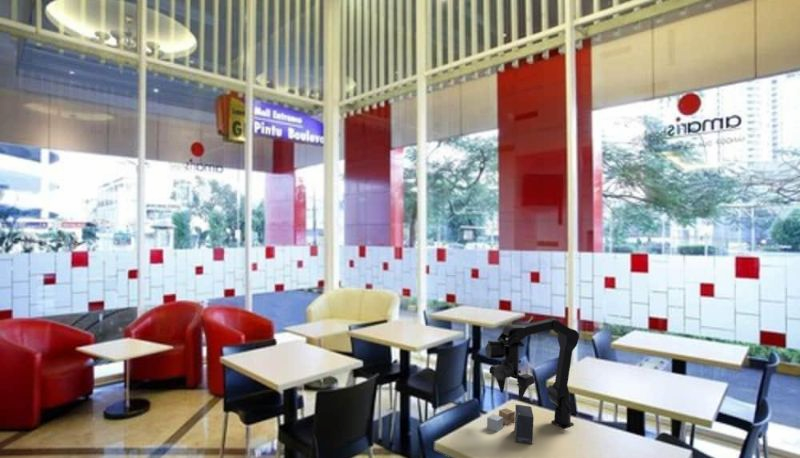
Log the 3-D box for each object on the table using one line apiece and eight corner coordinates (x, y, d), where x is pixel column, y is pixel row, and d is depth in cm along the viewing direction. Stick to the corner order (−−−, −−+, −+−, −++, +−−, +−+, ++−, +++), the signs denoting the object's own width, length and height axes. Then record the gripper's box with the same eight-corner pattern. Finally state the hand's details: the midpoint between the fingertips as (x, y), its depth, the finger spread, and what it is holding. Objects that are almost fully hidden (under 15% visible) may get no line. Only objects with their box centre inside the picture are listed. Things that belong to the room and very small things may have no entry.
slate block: (492, 425, 180) (492, 414, 180) (502, 428, 177) (503, 417, 177) (486, 428, 176) (487, 417, 176) (497, 432, 173) (497, 420, 173)
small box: (533, 445, 164) (534, 416, 164) (515, 442, 165) (516, 414, 165) (530, 432, 174) (531, 405, 174) (513, 430, 175) (514, 403, 175)
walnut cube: (506, 418, 186) (506, 408, 186) (514, 422, 183) (515, 411, 183) (498, 421, 184) (499, 410, 184) (507, 425, 180) (507, 414, 180)
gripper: (480, 354, 181) (479, 392, 181) (517, 366, 166) (516, 408, 166) (498, 350, 187) (498, 387, 187) (535, 361, 172) (535, 402, 172)
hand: (510, 396), depth 178 cm, fingers open, 9 cm apart
